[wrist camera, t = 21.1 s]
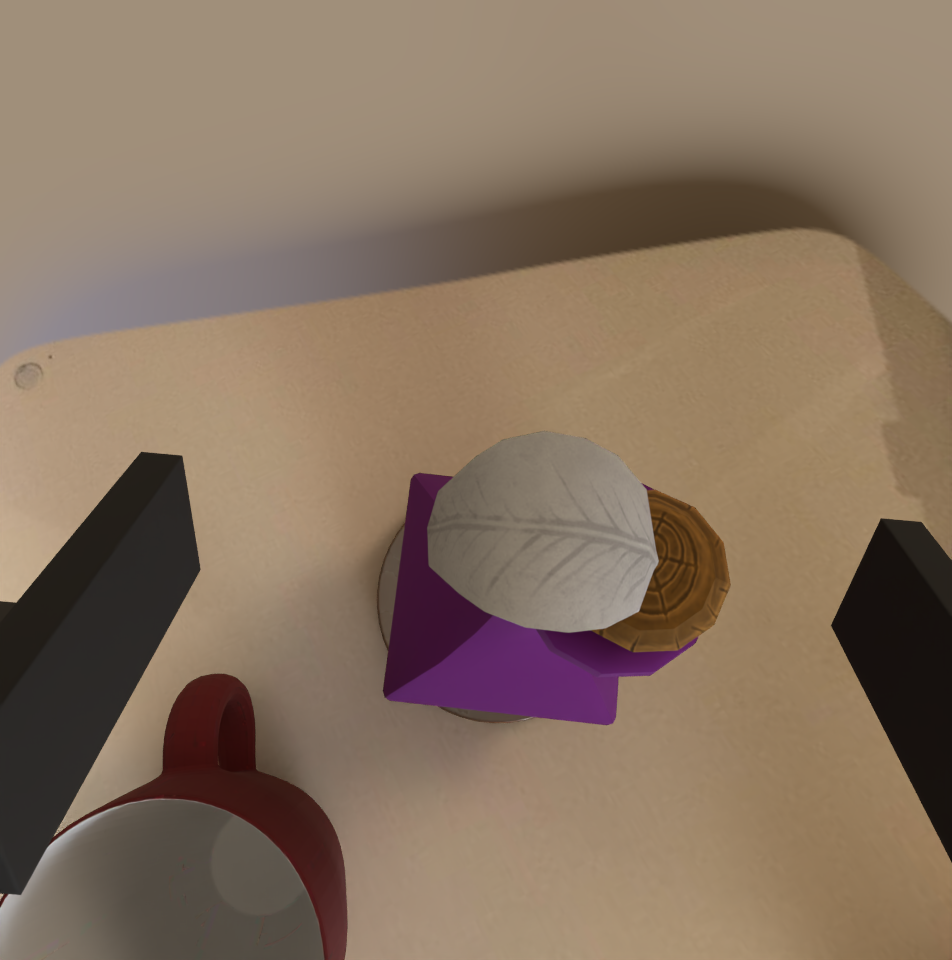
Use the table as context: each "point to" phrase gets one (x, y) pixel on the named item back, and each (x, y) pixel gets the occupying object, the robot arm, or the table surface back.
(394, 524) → the table surface
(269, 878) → the mug
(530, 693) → the perfume bottle
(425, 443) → the table surface
